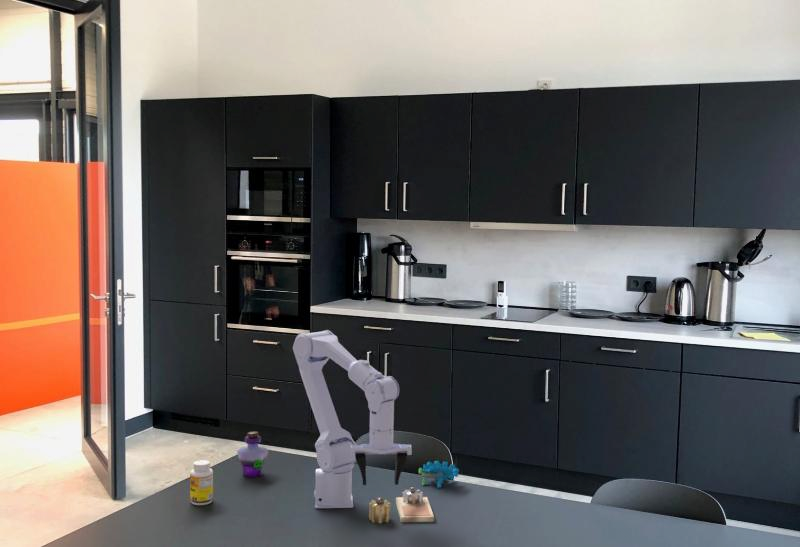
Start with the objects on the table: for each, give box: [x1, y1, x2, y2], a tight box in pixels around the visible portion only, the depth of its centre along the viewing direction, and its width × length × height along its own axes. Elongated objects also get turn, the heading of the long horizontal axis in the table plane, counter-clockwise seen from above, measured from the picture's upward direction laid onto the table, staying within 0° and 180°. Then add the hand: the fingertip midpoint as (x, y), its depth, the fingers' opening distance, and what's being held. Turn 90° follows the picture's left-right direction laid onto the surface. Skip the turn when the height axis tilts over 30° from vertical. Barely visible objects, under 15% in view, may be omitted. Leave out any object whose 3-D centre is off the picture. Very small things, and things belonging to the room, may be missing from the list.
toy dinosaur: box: [418, 460, 460, 489], centre depth 214 cm, size 11×6×10 cm
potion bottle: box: [236, 431, 269, 479], centre depth 219 cm, size 9×9×12 cm
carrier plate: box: [395, 496, 435, 523], centre depth 195 cm, size 8×13×1 cm, turn 6°
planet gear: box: [368, 496, 391, 524], centre depth 190 cm, size 5×5×5 cm
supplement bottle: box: [189, 459, 214, 506], centre depth 198 cm, size 6×6×10 cm
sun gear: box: [402, 486, 424, 505], centre depth 199 cm, size 5×5×3 cm
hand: (380, 483), depth 189 cm, fingers open, 7 cm apart
